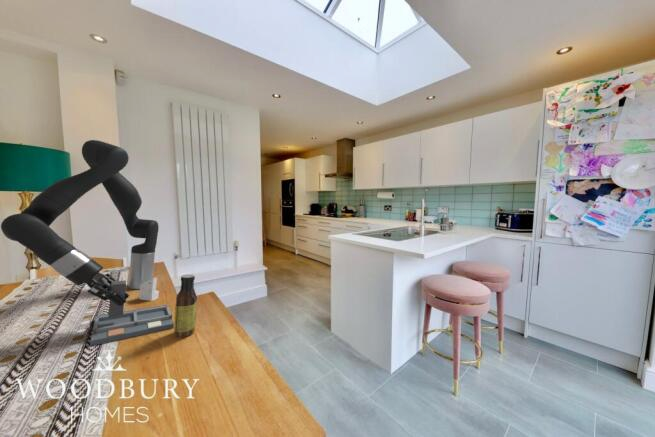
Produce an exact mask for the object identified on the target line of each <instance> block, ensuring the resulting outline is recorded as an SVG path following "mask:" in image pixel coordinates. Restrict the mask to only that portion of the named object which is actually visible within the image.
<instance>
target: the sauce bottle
mask: <svg viewBox="0 0 655 437" xmlns="http://www.w3.org/2000/svg"><path fill="white" fill-rule="evenodd" d="M180 281H181V283H180V285H181V286H180V290H179V291H178V293H177V295H176V297H175V298H176V299H175V312H174V326H173V333H174V335H175V336H176V337H179V338H180V337H181V338H183V337H187V336H190V335H192V334H194V332H195V330H196V323H197V320H196V319H197V308H198V307H197V305H198V304H197V303H198V298H197V294H196V291H195V287H194V284H195V275H194V274H189V273H188V274H183V275H181V276H180Z"/></svg>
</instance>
